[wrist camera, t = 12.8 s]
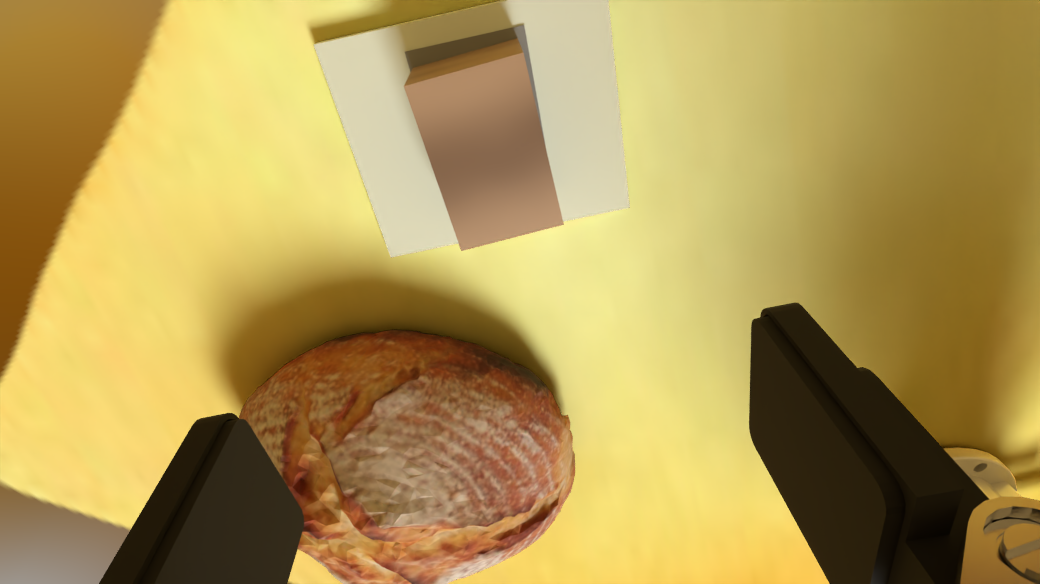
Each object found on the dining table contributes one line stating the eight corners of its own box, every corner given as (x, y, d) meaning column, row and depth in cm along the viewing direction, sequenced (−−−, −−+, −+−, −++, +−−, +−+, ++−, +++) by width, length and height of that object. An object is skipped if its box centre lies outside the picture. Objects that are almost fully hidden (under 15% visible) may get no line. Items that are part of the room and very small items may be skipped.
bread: (270, 277, 31) (190, 395, 22) (610, 350, 35) (659, 475, 26) (245, 493, 38) (177, 648, 29) (530, 533, 42) (547, 680, 33)
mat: (603, -24, 23) (606, -22, 23) (627, 202, 28) (630, 208, 28) (317, 42, 24) (313, 44, 23) (392, 251, 29) (390, 258, 28)
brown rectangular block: (554, 193, 27) (563, 224, 24) (463, 217, 27) (461, 251, 24) (517, 37, 23) (523, 52, 20) (412, 67, 24) (403, 86, 21)
